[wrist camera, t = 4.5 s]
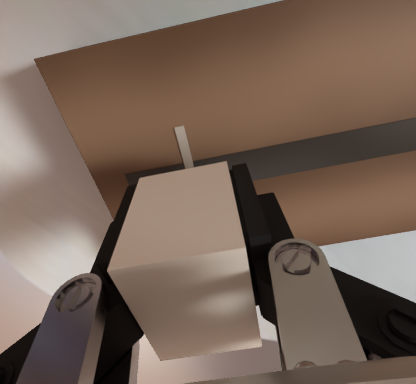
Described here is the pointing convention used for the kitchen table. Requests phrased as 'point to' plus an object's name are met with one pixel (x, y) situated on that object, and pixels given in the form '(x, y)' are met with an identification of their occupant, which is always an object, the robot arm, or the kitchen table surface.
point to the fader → (187, 264)
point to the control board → (260, 109)
